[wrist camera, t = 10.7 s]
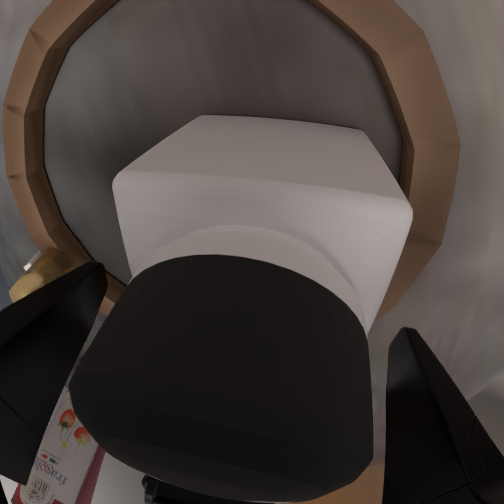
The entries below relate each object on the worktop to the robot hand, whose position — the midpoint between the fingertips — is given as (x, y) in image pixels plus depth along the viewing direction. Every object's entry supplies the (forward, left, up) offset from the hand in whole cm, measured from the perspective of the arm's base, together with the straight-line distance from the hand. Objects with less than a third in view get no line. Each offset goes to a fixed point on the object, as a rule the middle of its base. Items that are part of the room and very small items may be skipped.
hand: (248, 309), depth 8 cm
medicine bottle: (0, 0, -7) cm, 7 cm away
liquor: (-24, +14, -7) cm, 29 cm away
